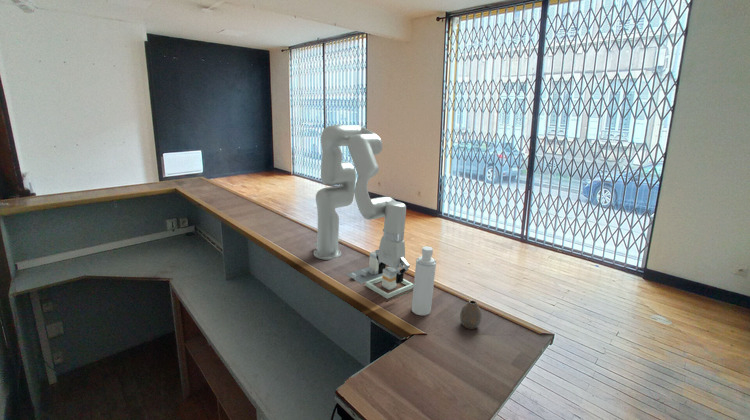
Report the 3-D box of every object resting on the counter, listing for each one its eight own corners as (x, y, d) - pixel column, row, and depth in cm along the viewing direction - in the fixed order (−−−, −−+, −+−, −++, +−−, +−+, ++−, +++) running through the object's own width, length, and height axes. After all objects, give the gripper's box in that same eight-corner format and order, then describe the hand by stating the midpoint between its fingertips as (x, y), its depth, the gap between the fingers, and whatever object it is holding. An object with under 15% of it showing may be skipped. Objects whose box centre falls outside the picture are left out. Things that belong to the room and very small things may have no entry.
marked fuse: (381, 287, 144) (382, 268, 142) (389, 285, 146) (390, 266, 144) (388, 292, 141) (390, 272, 139) (396, 289, 144) (398, 270, 141)
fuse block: (345, 277, 151) (345, 269, 150) (372, 268, 161) (373, 261, 160) (360, 287, 144) (361, 279, 143) (388, 277, 154) (389, 269, 153)
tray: (365, 289, 143) (365, 282, 143) (391, 279, 153) (391, 272, 152) (386, 302, 135) (387, 294, 134) (413, 291, 144) (413, 284, 143)
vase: (456, 327, 123) (459, 303, 120) (462, 317, 128) (465, 294, 126) (476, 334, 119) (480, 310, 117) (482, 324, 125) (486, 300, 123)
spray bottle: (434, 313, 130) (442, 246, 123) (417, 317, 127) (424, 248, 120) (424, 304, 135) (431, 239, 128) (408, 307, 133) (414, 241, 126)
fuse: (368, 270, 156) (369, 252, 153) (375, 268, 158) (377, 250, 156) (375, 274, 153) (376, 256, 150) (382, 271, 155) (383, 254, 153)
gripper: (370, 230, 141) (367, 271, 146) (403, 244, 129) (399, 289, 134) (384, 226, 146) (381, 267, 151) (418, 240, 134) (413, 283, 139)
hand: (390, 277), depth 142 cm, fingers open, 9 cm apart
